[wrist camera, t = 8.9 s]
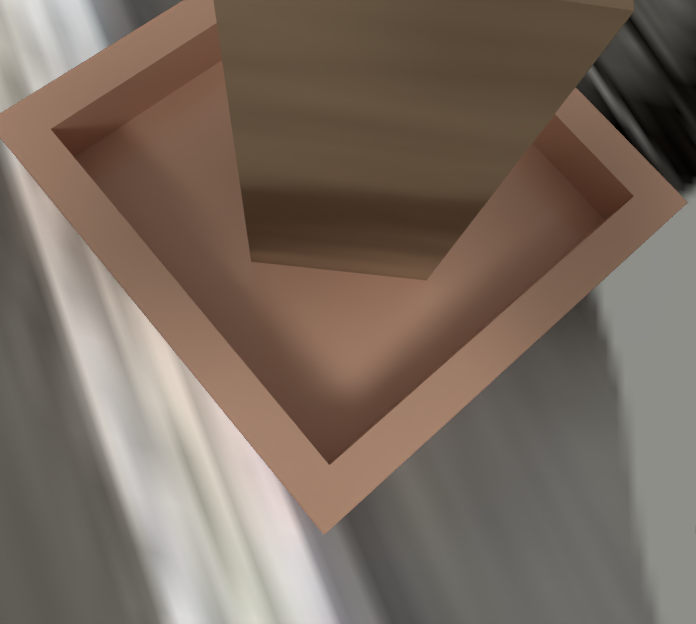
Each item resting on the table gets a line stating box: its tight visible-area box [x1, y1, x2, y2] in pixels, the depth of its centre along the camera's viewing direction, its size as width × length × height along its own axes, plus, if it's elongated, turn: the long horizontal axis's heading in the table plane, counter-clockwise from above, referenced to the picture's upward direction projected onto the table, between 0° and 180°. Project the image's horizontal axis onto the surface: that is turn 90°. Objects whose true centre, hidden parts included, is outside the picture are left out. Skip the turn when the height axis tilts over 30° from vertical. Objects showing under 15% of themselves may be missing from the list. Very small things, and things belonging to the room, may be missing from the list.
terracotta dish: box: [0, 0, 687, 535], centre depth 16 cm, size 12×12×2 cm
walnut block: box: [213, 0, 634, 280], centre depth 12 cm, size 4×4×10 cm
